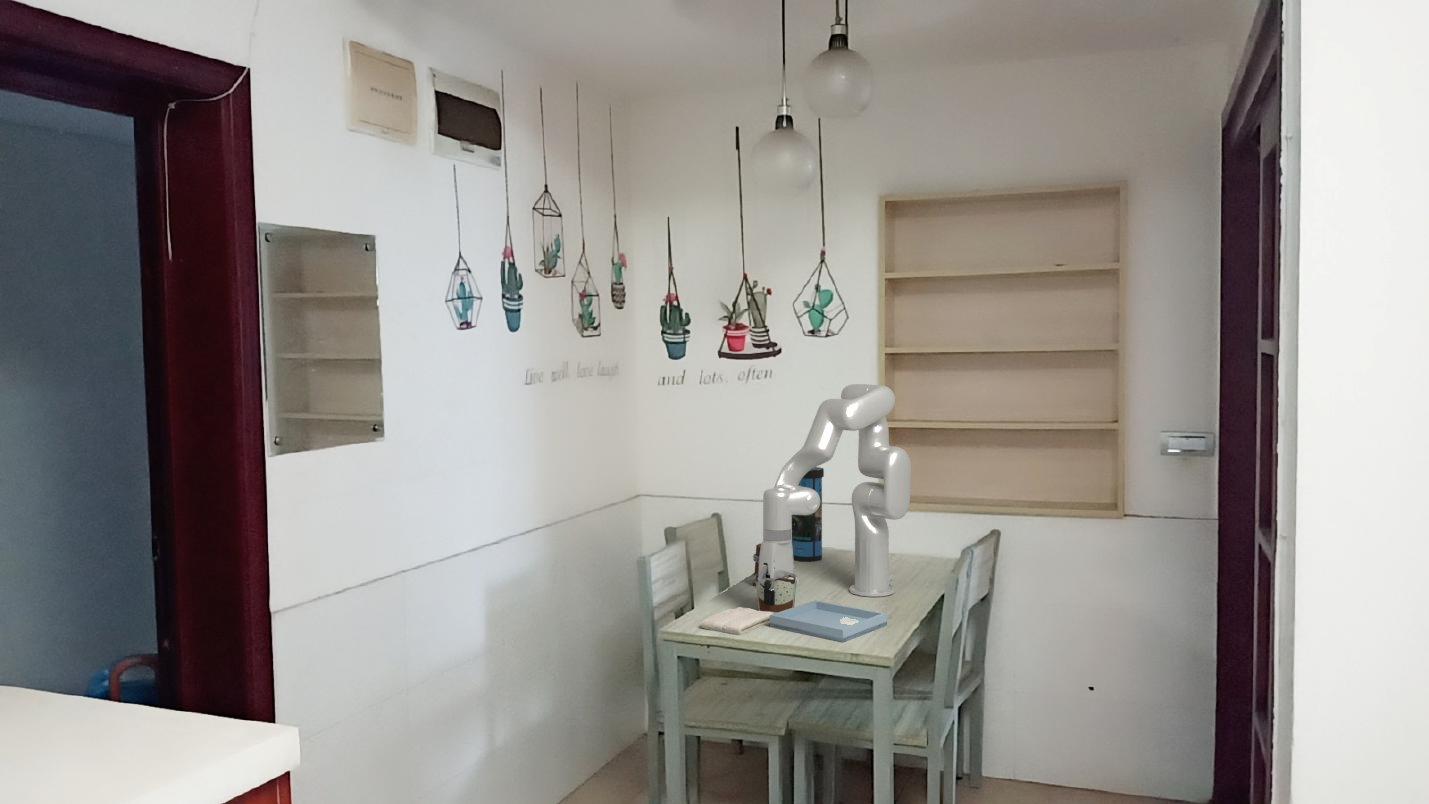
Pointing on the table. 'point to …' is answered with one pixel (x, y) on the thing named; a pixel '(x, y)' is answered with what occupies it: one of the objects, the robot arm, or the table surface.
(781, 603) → the food container
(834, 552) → the table surface
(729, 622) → the washcloth
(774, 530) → the robot arm
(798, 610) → the tray
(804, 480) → the advertising column
